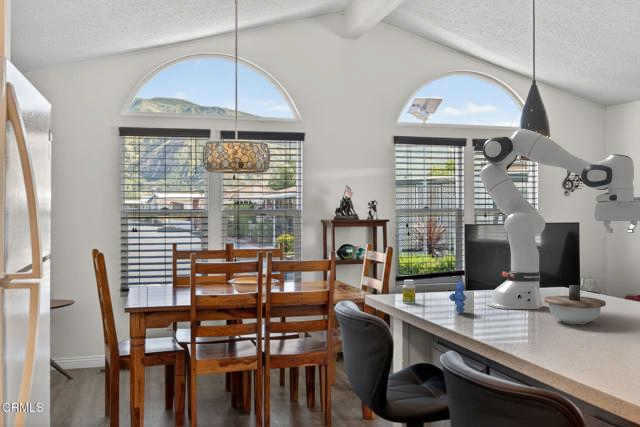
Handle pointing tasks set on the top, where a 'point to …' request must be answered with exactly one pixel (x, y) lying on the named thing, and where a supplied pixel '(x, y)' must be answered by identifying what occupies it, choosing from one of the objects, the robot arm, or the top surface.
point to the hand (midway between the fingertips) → (620, 233)
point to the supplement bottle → (409, 292)
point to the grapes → (459, 297)
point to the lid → (575, 299)
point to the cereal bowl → (574, 314)
